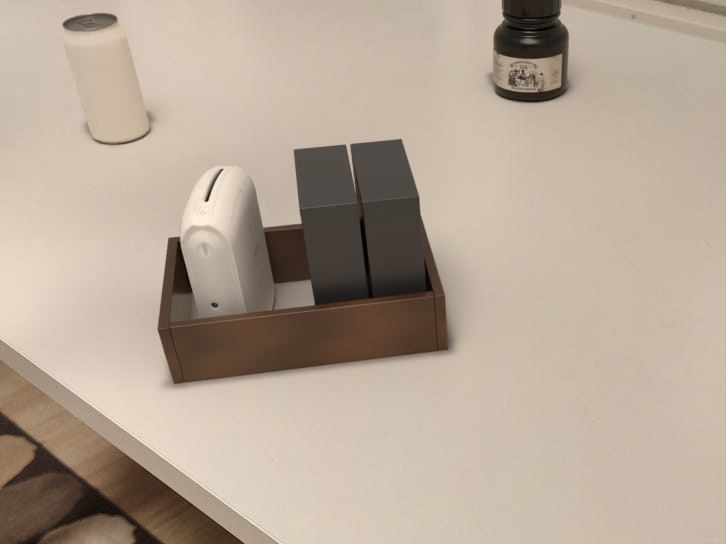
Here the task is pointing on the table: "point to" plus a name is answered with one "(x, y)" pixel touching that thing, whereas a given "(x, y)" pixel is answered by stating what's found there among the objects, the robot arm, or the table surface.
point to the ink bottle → (530, 50)
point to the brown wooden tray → (295, 321)
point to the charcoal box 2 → (388, 218)
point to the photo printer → (226, 245)
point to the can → (105, 77)
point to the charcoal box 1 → (330, 224)
